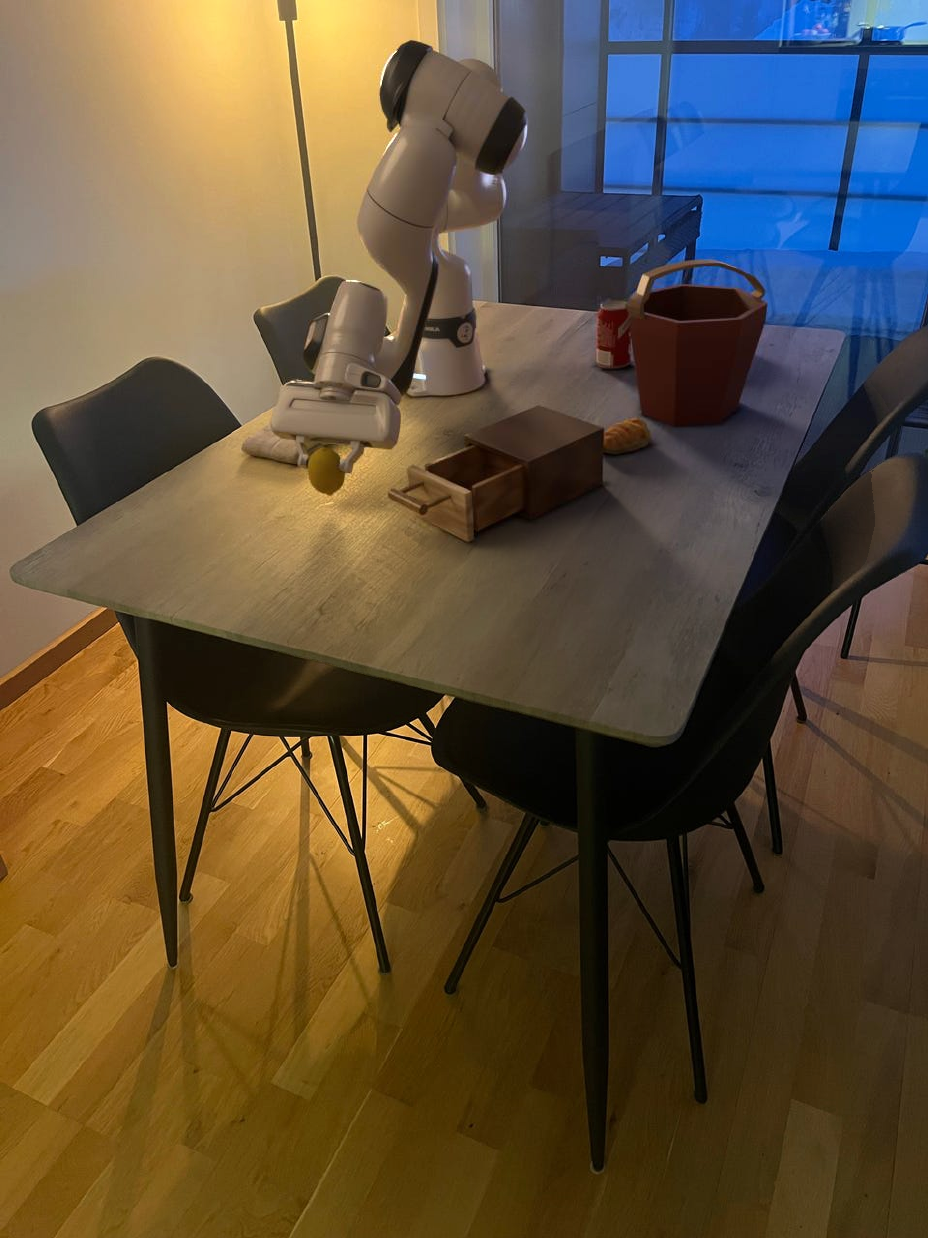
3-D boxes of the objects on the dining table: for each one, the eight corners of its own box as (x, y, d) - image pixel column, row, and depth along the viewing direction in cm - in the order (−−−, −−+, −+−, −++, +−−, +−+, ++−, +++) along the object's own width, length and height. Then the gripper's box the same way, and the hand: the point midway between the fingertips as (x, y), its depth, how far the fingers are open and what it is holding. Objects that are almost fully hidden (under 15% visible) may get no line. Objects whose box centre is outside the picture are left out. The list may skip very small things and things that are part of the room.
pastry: (615, 461, 152) (616, 438, 150) (585, 449, 156) (585, 427, 154) (654, 443, 156) (656, 422, 154) (624, 432, 161) (625, 411, 159)
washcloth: (358, 428, 169) (356, 412, 167) (296, 468, 156) (293, 451, 155) (305, 418, 174) (302, 402, 173) (241, 457, 162) (238, 440, 160)
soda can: (608, 373, 185) (610, 311, 178) (589, 364, 190) (590, 303, 183) (636, 366, 187) (639, 305, 180) (617, 357, 192) (619, 297, 185)
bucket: (625, 434, 160) (632, 284, 146) (608, 387, 178) (612, 250, 164) (770, 426, 160) (791, 274, 145) (738, 380, 178) (753, 241, 164)
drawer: (436, 557, 128) (431, 509, 124) (380, 527, 136) (374, 480, 132) (541, 505, 139) (541, 459, 134) (484, 480, 147) (482, 436, 142)
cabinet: (529, 520, 137) (528, 461, 132) (467, 491, 146) (463, 435, 141) (602, 484, 145) (604, 427, 140) (539, 458, 154) (538, 404, 149)
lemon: (354, 490, 145) (348, 442, 141) (336, 506, 141) (328, 457, 137) (324, 484, 147) (316, 437, 143) (305, 500, 143) (296, 452, 139)
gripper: (274, 369, 143) (253, 456, 141) (397, 379, 137) (378, 469, 135) (292, 387, 149) (273, 470, 147) (411, 396, 143) (393, 483, 141)
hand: (324, 469), depth 141 cm, fingers closed on lemon, 5 cm apart
